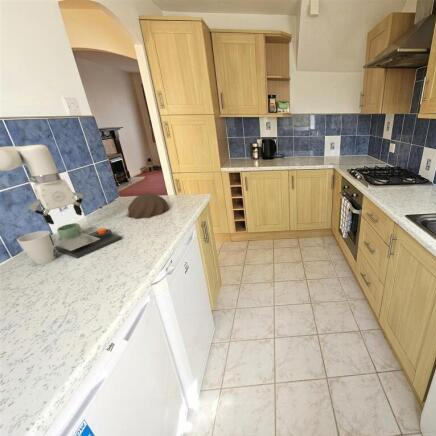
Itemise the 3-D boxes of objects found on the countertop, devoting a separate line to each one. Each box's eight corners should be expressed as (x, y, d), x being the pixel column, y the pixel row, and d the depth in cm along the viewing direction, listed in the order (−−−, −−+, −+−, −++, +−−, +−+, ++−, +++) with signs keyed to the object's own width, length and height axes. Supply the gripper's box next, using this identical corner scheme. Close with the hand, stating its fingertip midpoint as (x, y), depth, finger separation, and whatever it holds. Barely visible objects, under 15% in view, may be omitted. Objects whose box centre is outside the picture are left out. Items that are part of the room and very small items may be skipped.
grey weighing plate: (53, 244, 92) (53, 244, 92) (83, 233, 101) (83, 233, 100) (70, 251, 87) (69, 250, 87) (100, 239, 96) (99, 238, 95)
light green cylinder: (58, 240, 102) (53, 228, 100) (78, 233, 108) (73, 222, 106) (67, 243, 99) (62, 231, 97) (87, 236, 105) (82, 224, 103)
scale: (56, 249, 95) (52, 243, 94) (101, 232, 108) (99, 226, 107) (77, 258, 88) (74, 251, 87) (123, 239, 102) (121, 232, 100)
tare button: (96, 233, 101) (95, 230, 100) (104, 230, 103) (103, 227, 103) (100, 235, 100) (99, 231, 99) (108, 232, 102) (107, 228, 101)
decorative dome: (138, 206, 138) (133, 189, 134) (174, 204, 140) (170, 187, 136) (120, 219, 121) (114, 201, 117) (161, 217, 122) (156, 198, 118)
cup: (64, 257, 89) (53, 233, 85) (35, 269, 83) (21, 243, 79) (56, 252, 93) (44, 228, 89) (27, 262, 87) (13, 238, 83)
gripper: (21, 185, 84) (43, 229, 91) (78, 174, 98) (94, 212, 105) (12, 183, 88) (34, 226, 94) (69, 172, 102) (84, 210, 109)
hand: (66, 219), depth 100 cm, fingers open, 9 cm apart
